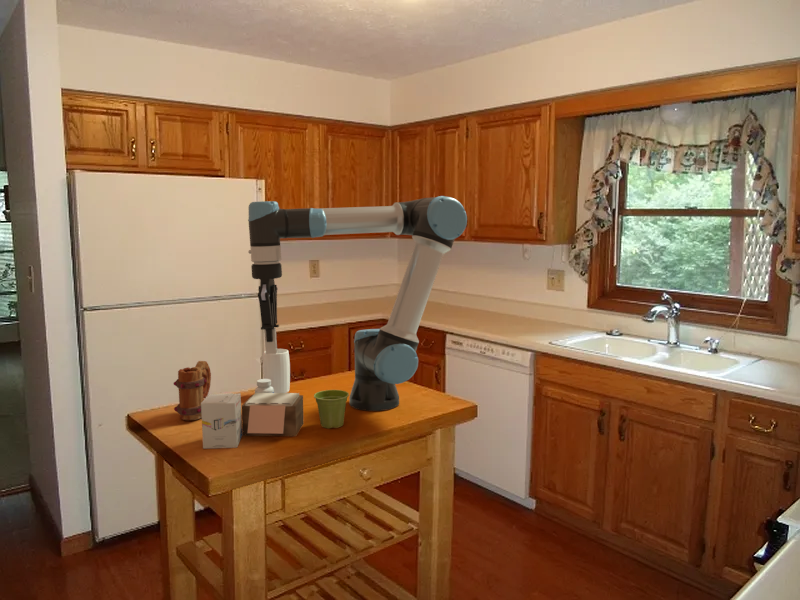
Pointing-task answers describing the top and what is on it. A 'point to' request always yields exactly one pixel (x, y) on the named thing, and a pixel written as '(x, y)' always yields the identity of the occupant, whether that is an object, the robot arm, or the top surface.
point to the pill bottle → (264, 386)
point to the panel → (266, 419)
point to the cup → (277, 370)
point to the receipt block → (289, 400)
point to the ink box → (221, 420)
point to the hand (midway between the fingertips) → (271, 353)
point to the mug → (192, 390)
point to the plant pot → (331, 407)
